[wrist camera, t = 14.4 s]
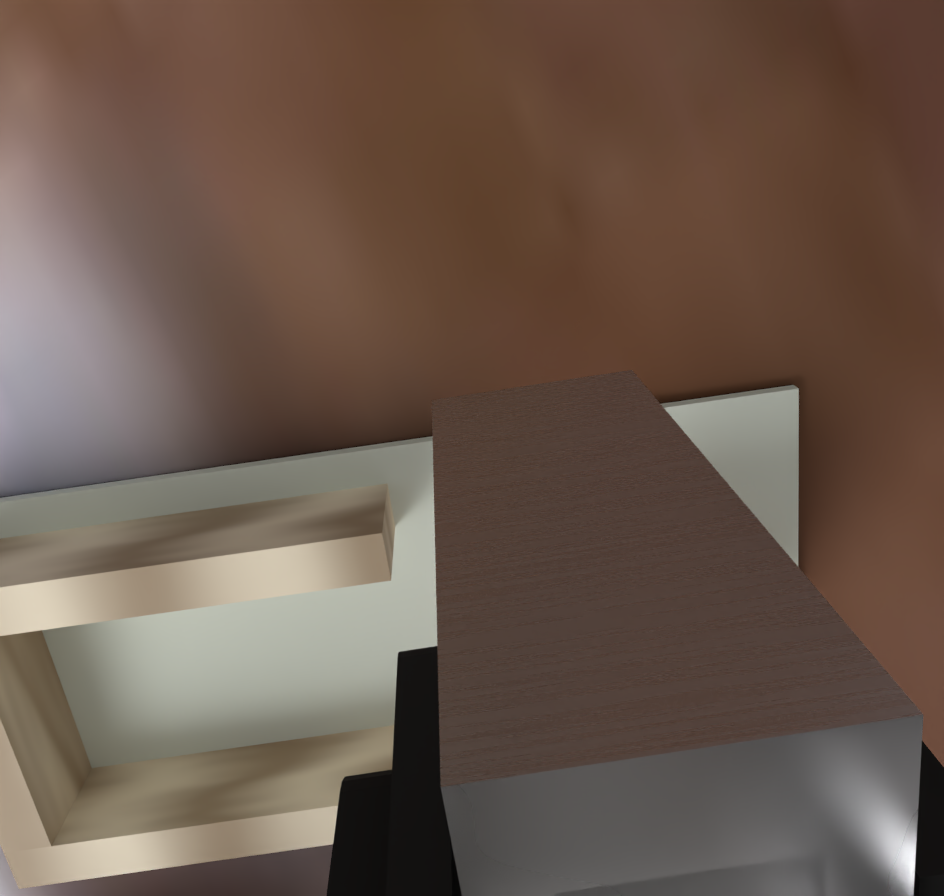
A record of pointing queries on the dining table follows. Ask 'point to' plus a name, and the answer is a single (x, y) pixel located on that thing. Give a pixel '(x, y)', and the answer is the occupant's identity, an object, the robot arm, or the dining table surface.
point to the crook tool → (646, 670)
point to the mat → (320, 593)
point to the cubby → (187, 776)
